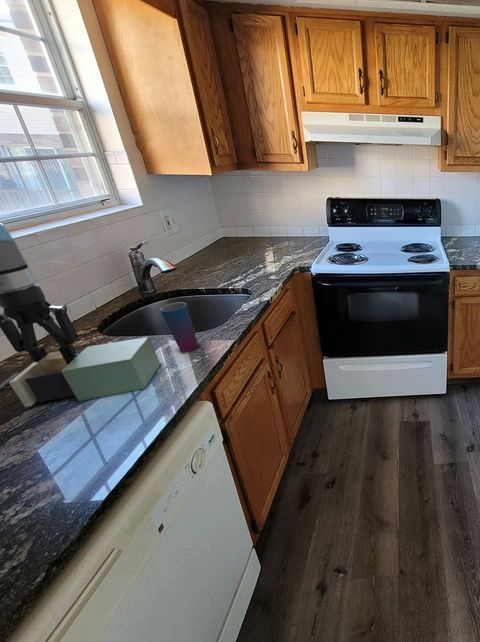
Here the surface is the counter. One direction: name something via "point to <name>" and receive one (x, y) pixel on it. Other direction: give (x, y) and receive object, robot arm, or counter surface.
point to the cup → (180, 325)
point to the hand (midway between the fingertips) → (62, 368)
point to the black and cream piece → (37, 385)
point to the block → (53, 362)
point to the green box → (112, 368)
